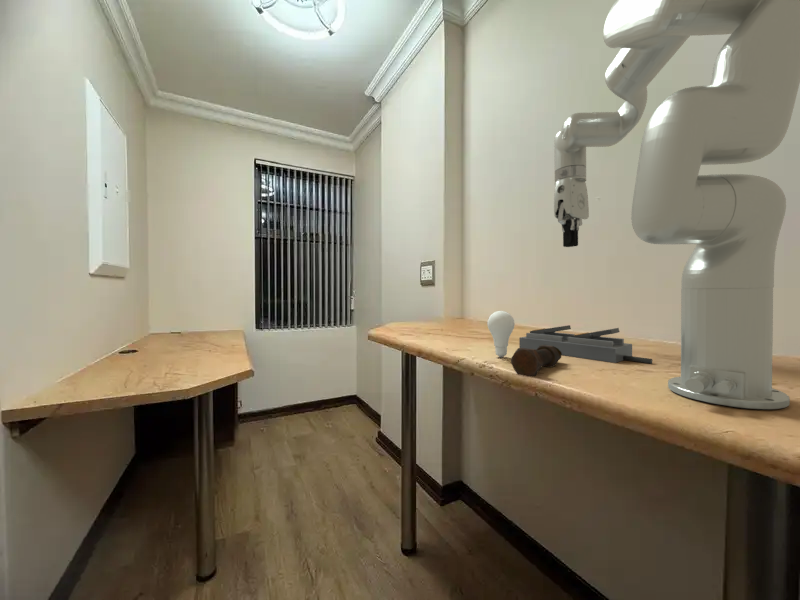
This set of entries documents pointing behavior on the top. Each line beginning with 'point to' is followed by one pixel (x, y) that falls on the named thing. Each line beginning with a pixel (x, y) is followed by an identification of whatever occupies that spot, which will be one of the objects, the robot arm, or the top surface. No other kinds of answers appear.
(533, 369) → the bolt
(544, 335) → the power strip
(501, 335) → the lightbulb
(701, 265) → the robot arm
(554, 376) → the top surface
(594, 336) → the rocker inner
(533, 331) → the rocker outer
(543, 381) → the top surface
